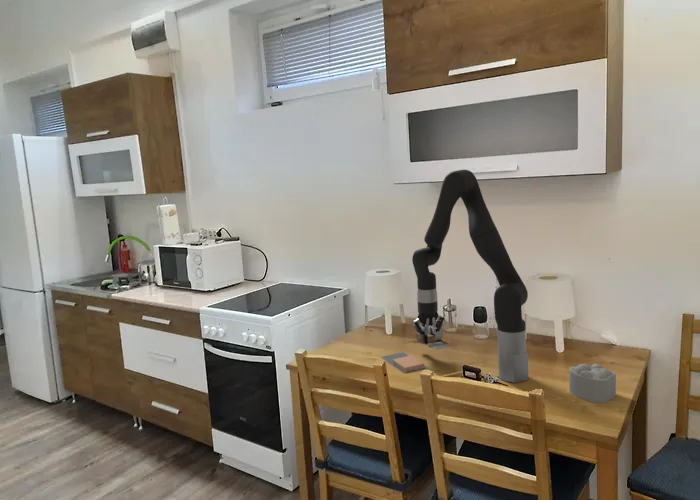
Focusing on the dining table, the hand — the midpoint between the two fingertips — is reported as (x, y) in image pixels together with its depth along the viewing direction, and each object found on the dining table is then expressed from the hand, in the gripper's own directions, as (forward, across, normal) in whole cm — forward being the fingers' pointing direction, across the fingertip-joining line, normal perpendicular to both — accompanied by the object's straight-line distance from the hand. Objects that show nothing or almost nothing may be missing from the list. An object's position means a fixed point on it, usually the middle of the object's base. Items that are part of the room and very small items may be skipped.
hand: (429, 343), depth 204 cm
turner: (0, 0, 0) cm, 0 cm away
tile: (+5, -11, +2) cm, 12 cm away
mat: (+6, -11, +1) cm, 13 cm away
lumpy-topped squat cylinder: (+6, +27, -53) cm, 60 cm away
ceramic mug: (+7, +11, +19) cm, 23 cm away
